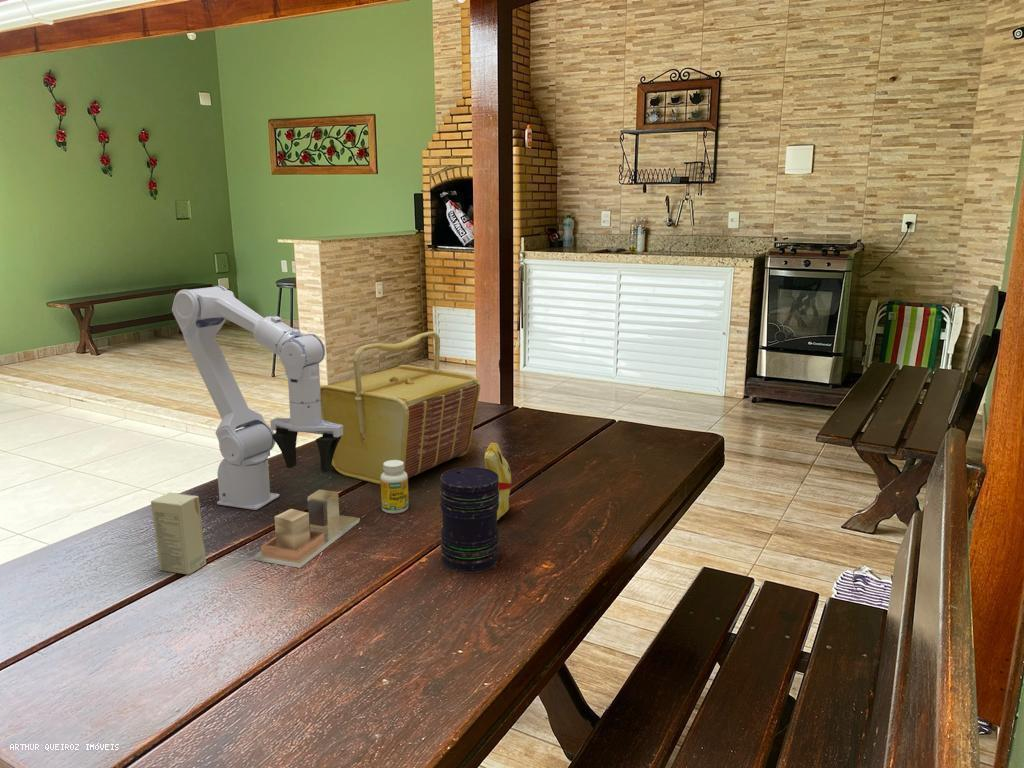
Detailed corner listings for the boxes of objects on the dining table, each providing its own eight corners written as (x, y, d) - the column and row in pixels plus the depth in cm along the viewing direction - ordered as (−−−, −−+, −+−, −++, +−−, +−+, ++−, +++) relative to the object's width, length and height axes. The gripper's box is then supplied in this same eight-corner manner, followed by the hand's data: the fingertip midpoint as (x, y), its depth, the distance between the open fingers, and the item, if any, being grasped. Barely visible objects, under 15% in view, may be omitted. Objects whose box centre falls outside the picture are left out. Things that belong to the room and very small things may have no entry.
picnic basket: (405, 496, 157) (401, 354, 150) (315, 473, 170) (308, 341, 163) (483, 458, 181) (483, 334, 174) (400, 440, 194) (397, 324, 188)
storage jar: (511, 560, 129) (511, 477, 126) (467, 579, 122) (467, 492, 119) (472, 542, 136) (472, 462, 133) (429, 558, 129) (427, 476, 126)
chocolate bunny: (518, 508, 151) (518, 436, 148) (493, 529, 141) (493, 452, 138) (487, 503, 154) (487, 432, 151) (461, 522, 144) (460, 447, 141)
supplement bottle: (401, 501, 154) (400, 456, 152) (413, 510, 150) (412, 464, 148) (376, 507, 151) (375, 461, 149) (388, 516, 147) (386, 469, 145)
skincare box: (207, 564, 126) (201, 495, 124) (188, 576, 122) (182, 505, 120) (176, 558, 128) (169, 490, 126) (157, 569, 124) (149, 500, 122)
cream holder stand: (253, 559, 128) (251, 522, 127) (318, 515, 147) (316, 482, 145) (300, 567, 126) (297, 529, 124) (359, 521, 144) (358, 488, 143)
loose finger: (276, 549, 131) (274, 516, 129) (295, 539, 135) (293, 507, 133) (294, 554, 129) (292, 521, 127) (312, 543, 133) (311, 511, 131)
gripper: (350, 398, 144) (352, 466, 147) (284, 392, 148) (288, 458, 151) (330, 407, 137) (333, 478, 140) (262, 400, 141) (266, 469, 144)
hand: (308, 468), depth 145 cm, fingers open, 7 cm apart
